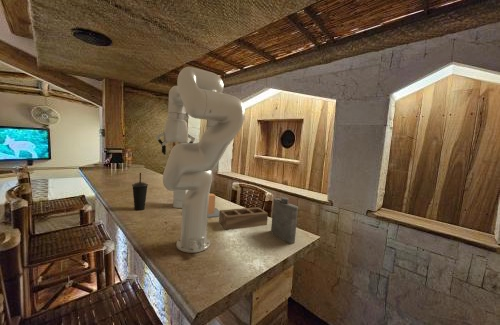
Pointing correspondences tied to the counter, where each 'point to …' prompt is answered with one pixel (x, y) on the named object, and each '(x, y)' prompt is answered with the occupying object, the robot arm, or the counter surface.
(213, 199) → the peg
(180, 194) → the supplement box
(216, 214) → the mat
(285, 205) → the flask
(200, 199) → the robot arm
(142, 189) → the drinking cup
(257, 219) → the wooden compartment box
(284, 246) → the counter surface
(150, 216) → the counter surface
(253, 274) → the counter surface
